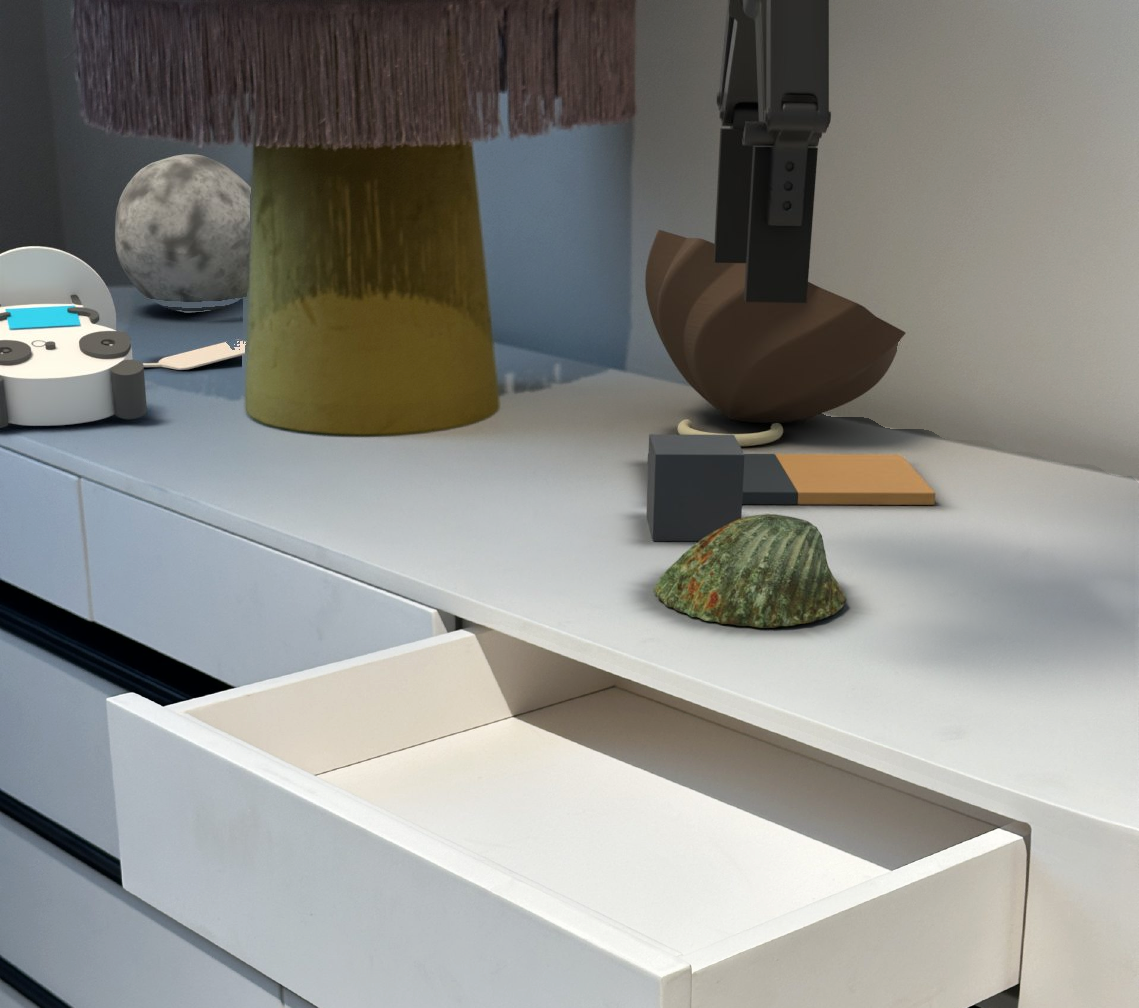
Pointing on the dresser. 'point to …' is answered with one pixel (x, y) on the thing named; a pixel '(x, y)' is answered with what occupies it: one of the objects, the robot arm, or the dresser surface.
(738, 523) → the seashell
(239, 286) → the moon lamp
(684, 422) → the handle
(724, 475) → the slate block
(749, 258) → the robot arm
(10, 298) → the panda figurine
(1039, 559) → the dresser surface
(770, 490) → the sorting mat
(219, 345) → the spatula
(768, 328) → the brown fluted bowl
